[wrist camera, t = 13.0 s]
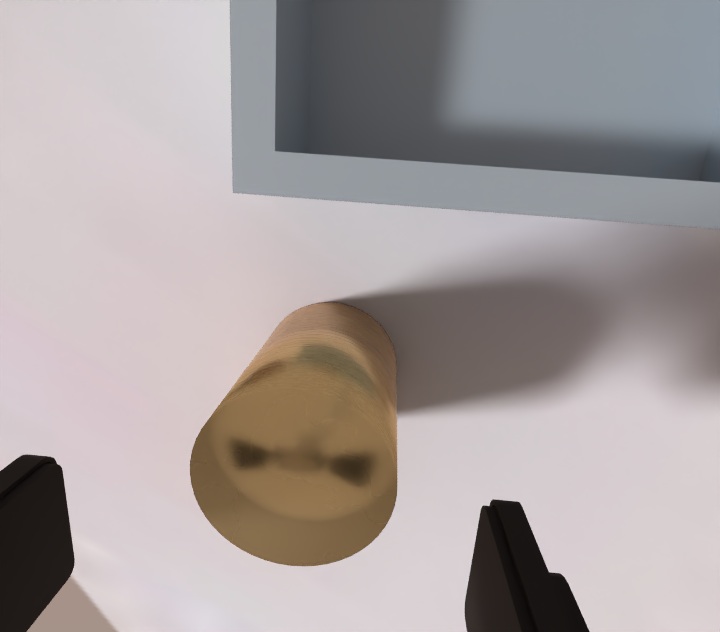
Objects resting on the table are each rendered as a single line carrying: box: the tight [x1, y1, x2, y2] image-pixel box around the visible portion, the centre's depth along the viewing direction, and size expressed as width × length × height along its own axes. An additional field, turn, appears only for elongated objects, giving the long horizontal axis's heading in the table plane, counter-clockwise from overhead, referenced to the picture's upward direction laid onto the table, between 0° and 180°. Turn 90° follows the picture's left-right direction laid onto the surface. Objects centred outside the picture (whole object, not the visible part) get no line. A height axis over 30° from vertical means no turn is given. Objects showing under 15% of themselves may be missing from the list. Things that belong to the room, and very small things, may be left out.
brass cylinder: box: [190, 302, 397, 566], centre depth 14 cm, size 5×5×7 cm
